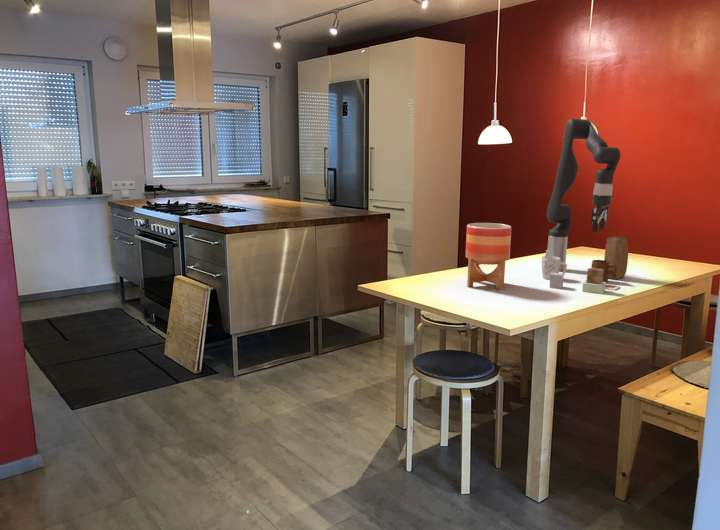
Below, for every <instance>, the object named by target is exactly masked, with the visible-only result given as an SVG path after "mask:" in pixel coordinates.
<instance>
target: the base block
mask: <svg viewBox="0 0 720 530" xmlns="http://www.w3.org/2000/svg"><path fill="white" fill-rule="evenodd" d="M586 282H587V279H586V280H584V282H583V283H582V291H581V292H582V293H589V294H597V295H598V294H599V295H600V294H601V295H603V294H604V292H605V290H606V289H605V284H606V282H602V283H601V284H591V283H586Z"/></svg>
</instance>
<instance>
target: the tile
mask: <svg viewBox="0 0 720 530" xmlns="http://www.w3.org/2000/svg"><path fill="white" fill-rule="evenodd" d="M620 287H621V286H619V285H613V284H607V283H605V290H611V291H616V290H619V289H620Z"/></svg>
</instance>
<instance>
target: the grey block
mask: <svg viewBox="0 0 720 530" xmlns="http://www.w3.org/2000/svg"><path fill="white" fill-rule="evenodd" d="M564 276H565V275H564V274H563V272H559V273H551V275H550V280H549V288H550V289H559V290H562V289H563V286H564Z"/></svg>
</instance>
